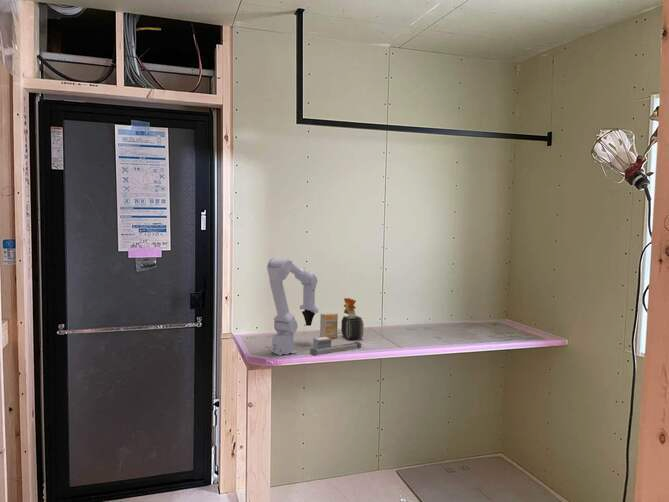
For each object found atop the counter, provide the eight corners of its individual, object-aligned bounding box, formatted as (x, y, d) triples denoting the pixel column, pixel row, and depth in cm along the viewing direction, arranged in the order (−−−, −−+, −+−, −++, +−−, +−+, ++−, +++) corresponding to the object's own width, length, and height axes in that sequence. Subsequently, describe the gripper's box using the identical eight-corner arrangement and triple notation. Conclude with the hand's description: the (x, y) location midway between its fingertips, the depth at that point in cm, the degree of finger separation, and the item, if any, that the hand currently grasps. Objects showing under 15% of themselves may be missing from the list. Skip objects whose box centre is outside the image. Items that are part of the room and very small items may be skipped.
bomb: (349, 341, 244) (350, 302, 243) (339, 335, 257) (340, 298, 256) (363, 339, 247) (363, 301, 246) (352, 334, 260) (353, 298, 259)
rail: (314, 355, 215) (314, 350, 215) (310, 353, 219) (310, 348, 219) (361, 348, 230) (361, 343, 230) (356, 346, 233) (356, 341, 233)
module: (318, 352, 222) (318, 340, 221) (313, 349, 226) (313, 337, 226) (331, 350, 225) (331, 338, 225) (326, 348, 230) (326, 336, 229)
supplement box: (324, 339, 246) (325, 314, 245) (319, 338, 250) (320, 313, 249) (337, 338, 251) (338, 313, 250) (332, 336, 254) (332, 312, 254)
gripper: (323, 299, 231) (323, 327, 232) (308, 295, 243) (308, 322, 244) (311, 300, 227) (310, 328, 228) (296, 296, 239) (296, 323, 240)
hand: (308, 325), depth 236 cm, fingers closed
